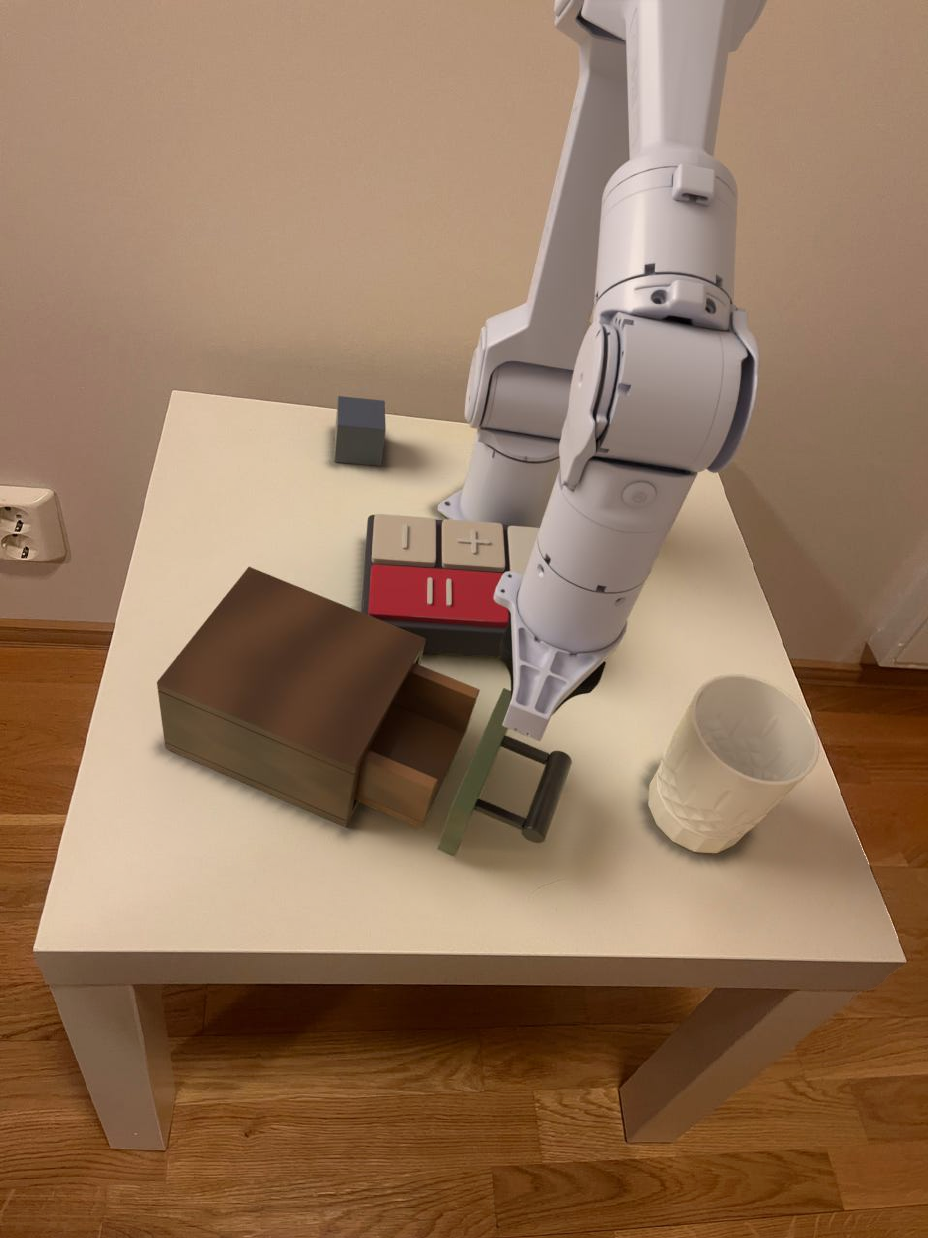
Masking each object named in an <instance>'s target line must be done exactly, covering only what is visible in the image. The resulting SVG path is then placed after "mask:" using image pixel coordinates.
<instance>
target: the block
mask: <svg viewBox="0 0 928 1238" xmlns="http://www.w3.org/2000/svg"><path fill="white" fill-rule="evenodd" d="M335 415H336V417H335V426H334V427H335V428H334V450H333V451H334V457H333V461H334V463H341V464H353V465H363V466H364V465H366V466H375V467H380V466H381V465H382V460H383V454H384V453H383V451H384V446H385V445H384V444H385V438H386V431H387V426H386V401H385V400H382V399H374V398H373V399H372V398H362V397H352V396H342V395H338V396H337V403H336V414H335Z"/></svg>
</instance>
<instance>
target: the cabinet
mask: <svg viewBox="0 0 928 1238" xmlns="http://www.w3.org/2000/svg"><path fill="white" fill-rule="evenodd" d="M425 641H426V639H425V638H423V637H421V636H418V635H416V634H413V633H411V632H408V631H406V630H403V629H401V628H398V627H396V626H394V625H391V624H389V623H386V622H384V621H381V620H379V619H376V618H374V617H371V616H369V615H367V614H364V613H362V612H361V611H359V610H357V609H355V608H352V607H350V606H347V605H344V604H342V603H339V602H337V601H335V600H332V599H330V598H327V597H325V596H322V595H319V594H318V593H315V592H312V591H310V590H307V589H305V588H303V587H301V586H297V585H295V584H293V583H291V582H288V581H285V580H283V579H282V578H278V577H276V576H274V575H271V574H268V573H265V572H263V571H261V570H258V569H256V568H254V567H252V566H248V567H247V568H246V570H245V571H244V572H243V573H242V575H241V576H240V577H239V578H238V579H237V581H236V582H235V583H234V584H233V585H232V587H231V589H229V591H228V592H227V593H226V595H225V596H223V598H222V600H220V602H219V603H218V604H217V606H216V607H215V608H214V610H213V611H212V612H211V613H210V615H209V616H208V617H207V619H206V620H205V621H204V622H203V623H202V625H201V626H200V627H199V628H198V630H196V632H195V633H194V635H193V636H192V637H191V639H190V640H189V641H188V642H187V644H186V645H185V646H184V647H183V648H182V650H181V651H180V652H179V654H177V656H176V657H175V659H174V660H173V661H172V662H171V663H170V665H169V666H168V667H167V668H166V670H165V671H164V672H163V674H162V675H161V676H159V677H160V678H158V680H156V689H157V695H158V703H159V711H160V719H161V726H162V734H163V742H164V748H165V749H166V750H168V751H170V752H172V753H175V754H177V755H180V756H182V757H184V758H185V759H189V760H191V761H192V762H193V761H194V762H195V763H197V764H200V765H202V766H205V767H207V768H209V769H211V770H213V771H216V772H219V773H220V774H222V775H225V776H227V777H230V778H231V779H235V780H237V781H239V782H241V783H243V784H246V785H249V786H250V787H253V788H255V789H257V790H260V791H262V792H264V793H267V794H269V795H271V796H273V797H276V798H278V799H281V800H283V801H285V802H287V803H290V804H291V805H294V806H296V807H298V808H301V809H303V810H306V811H307V812H310V813H312V814H315V815H317V816H319V817H322V818H324V819H325V820H329V821H331V822H333V823H335V824H337V825H340V826H342V827H344V828H346V827H348V824H349V823H350V820H351V819H352V818H353V817H352V816H353V815H354V813H355V811H356V809H357V807H358V806H359V803H360V802H358V801H356V800H354V797H355V791H356V785H357V779H358V773H359V767H360V763H361V762H362V760H363V758H364V756H365V754H366V752H367V750H368V749H369V747H370V745H371V743H372V741H373V739H374V738H375V736H376V734H377V732H378V730H379V728H380V727H381V725H382V723H383V721H384V719H385V717H386V716H387V714H388V712H389V710H390V708H391V706H392V705H393V703H394V701H395V699H396V697H397V695H398V694H399V692H400V690H401V688H402V686H403V684H404V682H405V681H406V679H407V677H408V675H409V673H410V671H411V670H412V668H413V666H414V664H415V663H416V664H419V665H421V662H422V658H423V653H424V652H423V649H424V645H425Z"/></svg>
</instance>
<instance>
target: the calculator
mask: <svg viewBox="0 0 928 1238" xmlns="http://www.w3.org/2000/svg"><path fill="white" fill-rule="evenodd" d="M539 529H540V527H529V526H516V525H503V524H500V523H491V522H478V521H465V520H452V519H448V518H445V519H436V518H433V517H425V516H424V517H423V516H410V515H400V514H399V515H398V514H387V513H386V514H385V513H377V514H371V515H369V516H368V517H367V522H366V535H365V536H366V537H365V551H364V552H365V553H364V564H363V567H364V568H363V579H362V592H361V609H360V612H362V613H364V614H367V615H369V616H371V617H374V618H376V619H379V620H381V621H384V622H386V623H389V624H391V625H394V626H396V627H398V628H401V629H403V630H406V631H408V632H411V633H413V634H416V635H418V636H421V637H423V638H425V639H426V641H425V645H424V649H423V653H427V654H428V653H429V654H431V653H432V654H444V655H461V656H463V655H464V656H476V657H477V656H478V657H491V658H492V657H495V658H500V642H501V639H502V636H503V634H504V632H505V630H506V627H507V625H508V623H509V621H510V619H511V613H510V611H509V609H508V608H506V607H504V606H501V605H499V604H498V603H496V602H495V600H494V593H495V590H496V587H497V585H498V583H499V581H500V579H501V577H502V575H503V574H504V573H505V572H508V571H511V572H515V573H518V574H521V575H524V574H525V571H526V568H527V565H528V562H529V559H530V556H531V553H532V550H533V547H534V544H535V541H536V538H537V535H538V532H539Z"/></svg>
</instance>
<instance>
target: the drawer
mask: <svg viewBox="0 0 928 1238" xmlns="http://www.w3.org/2000/svg"><path fill="white" fill-rule="evenodd" d="M479 695H480V689H479V688H477V687H474V686H472V685H469V684H467V683H465V682H462V681H460V680H458V679H455V678H452V677H450V676H448V675H445V674H443V673H440V672H438V671H435V670H433V669H431V668H428V667H426V666H423V665H421V664H420V665H419V664H416V663H415V664H414V666H413V668H412V670H411V671H410V673H409V675H408V677H407V679H406V681H405V682H404V684H403V686H402V688H401V690H400V692H399V694H398V695H397V697H396V699H395V701H394V703H393V705H392V706H391V708H390V710H389V712H388V714H387V716H386V717H385V719H384V721H383V723H382V725H381V727H380V728H379V730H378V732H377V734H376V736H375V738H374V739H373V741H372V743H371V745H370V747H369V749H368V750H367V752H366V754H365V756H364V758H363V760H362V762H361V763H360V767H359V773H358V779H357V785H356V791H355V797H354V800H356V801H358V802H359V803H361V804H363V805H366V806H367V807H370V808H372V809H375V810H376V811H379V812H381V813H384V814H386V815H389V816H390V817H393V818H396V819H398V820H400V821H401V822H402V821H403V822H404V823H407V824H410V825H412V826H414V827H416V828H418V829H424V826H425V824H426V822H427V820H428V817H429V815H430V813H431V812H432V809H433V806H434V804H435V802H436V799H437V798H438V795H439V793H440V791H441V788H442V786H443V784H444V782H445V780H446V778H447V775H448V773H449V771H450V769H451V767H452V764H453V762H454V760H455V758H456V756H457V754H458V752H459V750H460V747H461V745H462V743H463V740H464V738H465V736H466V734H467V732H468V730H469V726H470V722H471V719H472V716H473V714H474V710H475V708H476V707H475V706H476V703H477V700H478V698H479ZM510 702H511V689H508V688H505V687H503V688H502V690H501V692H500V694H499V697H498V699H497V701H496V704H495V706H494V708H493V710H492V713H491V715H490V717H489V720H488V721H487V724H486V726H485V729H484V731H483V732H482V735H481V737H480V740H479V742H478V744H477V747H476V749H475V751H474V754H473V756H472V758H471V760H470V762H469V764H468V767H467V769H466V771H465V774H464V776H463V778H462V781H461V783H460V785H459V787H458V790H457V792H456V794H455V796H454V799H453V800H452V803H451V806H450V808H449V812H448V814H447V817H446V821H445V824H444V827H443V829H442V832H441V836H440V839H439V842H438V844H437V848H436V850H437V851H440V852H442V853H444V854H446V855H449V856H451V857H453V858H455V857H456V856H457V854H458V850H459V849H460V846H461V844H462V841H463V839H464V838H465V837H464V836H465V835H466V832H467V830H468V827H469V825H470V822H471V820H472V818H473V815H474V812H477V813H479V814H482V815H485V816H487V817H489V818H491V819H494V820H495V821H498V822H500V823H503V824H505V825H507V826H510V827H512V828H514V829H517V830H520V833H521V836H522V837H523V838H524V839H525V840H527V841H528V842H531V843H533V844H543V843H544V842H545V841H546V839H547V836H548V833H549V831H550V828H551V825H552V822H553V818H554V815H555V813H556V810H557V806H558V803H559V801H560V798H561V795H562V793H563V790H564V786H565V784H566V782H567V781H566V780H567V778H568V775H569V772H570V769H571V767H572V763H573V759H572V757H571V756H570V755H569V754H568V753H566V752H564V751H561V750H553V751H551V752H550V753H549V752H547V751H545V750H542V749H540V748H538V747H537V748H536V747H535V746H532V745H530V744H527V743H525V742H523V741H520V740H518V739H515V738H513V737H511V736H508V735H507V733H508V731H509V728H506V727H504V726H503V725H502V724H503V721H504V719H505V716H506V713H507V710H508V708H509V705H510ZM502 748H503V749H504V750H507V751H509V752H512V753H514V754H517V755H520V756H522V757H524V758H527V759H530V760H532V761H534V762H536V763H539V764H541V765H543V766H544V768H543V770H542V773H541V776H540V779H539V781H538V784H537V786H536V790H535V792H534V795H533V797H532V800H531V803H530V805H529V808H528V811H527V813H526V816H525V817H524V816H522V815H519V814H518V813H515V812H512V811H510V810H508V809H505V808H504V807H501V806H498V805H496V804H494V803H491V802H489V801H488V800H487V801H486V800H484V799H481V796H482V793H483V791H484V789H485V787H486V784H487V781H488V779H489V777H490V775H491V772H492V770H493V767H494V765H495V762H496V759H497V758H498V755H499V753H500V750H501V749H502Z"/></svg>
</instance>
